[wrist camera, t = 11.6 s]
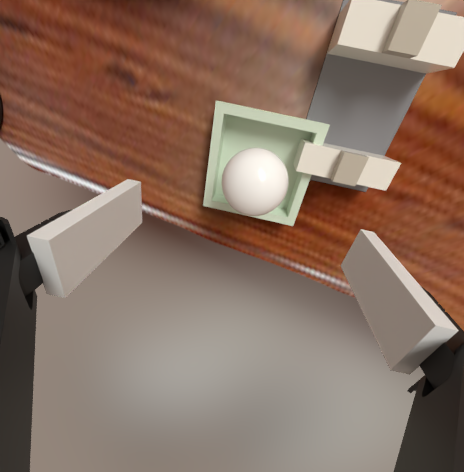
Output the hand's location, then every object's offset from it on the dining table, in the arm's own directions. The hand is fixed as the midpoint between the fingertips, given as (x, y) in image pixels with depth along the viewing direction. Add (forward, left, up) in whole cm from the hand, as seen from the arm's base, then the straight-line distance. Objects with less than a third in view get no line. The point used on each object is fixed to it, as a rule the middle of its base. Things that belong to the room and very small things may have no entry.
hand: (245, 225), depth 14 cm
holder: (+9, +8, -18) cm, 22 cm away
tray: (0, 0, -18) cm, 18 cm away
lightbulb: (0, 0, -17) cm, 17 cm away
